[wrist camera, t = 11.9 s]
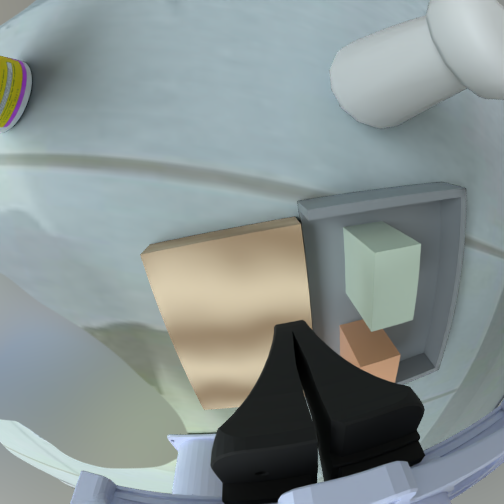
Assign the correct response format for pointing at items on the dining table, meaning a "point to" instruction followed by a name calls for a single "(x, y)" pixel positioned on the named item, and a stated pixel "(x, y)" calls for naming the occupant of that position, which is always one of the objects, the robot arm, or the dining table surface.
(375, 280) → the tile sage
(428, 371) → the tray
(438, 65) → the salt shaker
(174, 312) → the board
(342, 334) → the tile terracotta
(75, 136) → the dining table surface
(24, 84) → the supplement bottle
